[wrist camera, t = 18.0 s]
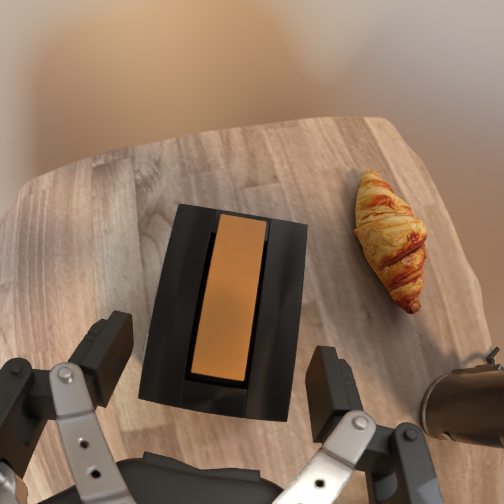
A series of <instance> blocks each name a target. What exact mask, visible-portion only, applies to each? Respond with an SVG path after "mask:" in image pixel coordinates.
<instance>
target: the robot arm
mask: <svg viewBox="0 0 504 504" xmlns="http://www.w3.org/2000/svg"><path fill="white" fill-rule="evenodd" d="M133 344H134V339H133V324H132V315H131V314H129V313H125V312H120V311H116V310H115V311H113V313H112V314H111V315H110V317H109V318H108V320H105V319H101V320H99V321H98V322H96V323H95V324H93V325H92V327H91V328H90V330H89V331H88V334H86V335H85V337H84V338H83V340H82V341H81V343H80V344H79V345H78V347H77V348H76V350H75V351H74V353H73V354H72V356H71V357H70V359H69V360H68V362H63V363H59V364H57V365H55V366H54V367H53V368H52V369H51V370H38V369H32V367H31V364H30V363H29V362H28V361H27V360H26V359H23V358H13V359H10V360H9V361H7V362H6V363H5V364H4V366H3V367H2V368H1V370H0V504H27V497H28V489H27V486H26V484H25V483H24V481H23V477H24V474H25V472H26V469H27V467H28V464H29V462H30V459H31V457H32V455H33V452H34V450H35V447H36V445H37V443H38V440H39V438H40V436H41V434H42V431H43V429H44V427H45V425H46V423H47V421H48V420H56V424H57V428H58V432H59V435H60V439H61V442H62V446H63V449H64V453H65V456H66V459H67V462H68V465H69V468H70V471H71V474H72V477H73V480H74V482H75V485H74V486H72V487H70V488H68V489H66V490H64V491H62V492H60V493H58V494H56V495H54V496H52V497H50V498H48V499H46V500H44V501H41V502H39V503H37V504H333V502H334V501H335V499H336V498H337V497H338V495H339V494H340V492H341V491H342V489H343V488H344V486H345V485H346V483H347V482H348V480H349V479H350V477H351V476H352V474H353V472H354V471H355V470H359V471H363V472H365V475H366V482H367V490H368V497H369V504H443V500H442V496H441V492H440V488H439V484H438V480H437V477H436V473H435V470H434V466H433V463H432V459H431V456H430V453H429V449H428V446H427V443H426V440H425V437H424V434H423V432H422V430H421V429H420V428H419V427H418V426H416V425H415V424H412V423H408V422H405V423H401V424H399V425H398V426H397V427H396V429H392V428H388V427H384V426H380V425H377V424H376V422H375V420H374V419H373V418H372V416H370V415H369V414H368V413H366V412H364V410H363V406H362V403H361V400H360V396H359V393H358V389H357V386H356V383H355V379H354V378H353V377H354V376H353V373H352V369H351V367H350V366H349V365H348V363H347V362H346V361H345V360H344V359H338V356H337V352H336V349H335V347H329V346H317V347H316V349H315V351H314V354H313V356H312V359H311V361H310V364H309V366H308V369H307V372H306V378H305V384H306V391H307V398H308V406H309V414H310V421H311V429H312V437H313V443H322V447H320V449H319V450H318V451H317V452H316V453H315V455H314V456H313V457H312V458H311V460H310V461H309V462H308V463H307V464H306V466H305V467H304V468H303V469H302V470H301V472H300V473H299V474H298V475H297V476H296V477H295V479H294V480H293V481H292V482H291V483H290V484H289V485H288V486H287V488H286V489H285V490H284V489H282V488H281V487H279V486H278V485H277V484H275V483H273V482H271V481H269V480H266V479H263V478H260V470H249V469H239V468H222V469H207V470H201V469H197V468H195V467H192V466H190V465H187V464H185V463H183V462H180V461H178V460H176V459H174V458H170V457H166V456H162V455H157V454H153V453H149V452H145V451H144V454H143V458H131V459H125V460H121V461H118V462H116V463H115V460H114V458H113V456H112V454H111V451H110V449H109V447H108V444H107V442H106V439H105V437H104V434H103V432H102V429H101V426H100V424H99V421H98V418H97V416H96V413H95V410H96V408H97V406H101V407H104V408H106V407H107V405H108V402H109V400H110V398H111V396H112V394H113V391H114V389H115V387H116V385H117V383H118V381H119V378H120V376H121V374H122V372H123V370H124V368H125V366H126V364H127V362H128V360H129V358H130V355H131V353H132V350H133ZM498 352H499V348H498V347H496V348H495V349H494V350H493V351H492V352H491V354H490V355H489V356H488V358H487V363H489V364H485V365H478V366H475V367H474V368H466V369H457V370H453V371H452V373H451V374H447V375H444V376H441V377H439V378H438V379H437V380H435V381H434V382H433V384H432V385H431V386H430V387H429V389H428V390H427V392H426V394H425V397H424V399H423V402H422V407H421V423H422V426H423V429H424V431H425V432H426V433H427V434H428V435H429V436H430V437H432V438H436V439H445V440H449V441H450V442H451V443H452V444H456V443H455V442H460V443H467V444H473V445H480V446H487V447H495V448H504V368H503V366H502V365H501V364H496V365H495V360H494V359H493V358H494V356H495V355H496V354H497V353H498ZM454 441H455V442H454ZM456 445H457V444H456Z"/></svg>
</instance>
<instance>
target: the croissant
mask: <svg viewBox="0 0 504 504" xmlns="http://www.w3.org/2000/svg"><path fill="white" fill-rule="evenodd" d="M355 214H356V227H357V228H356V229H354V233H355V234H356V236H357V238H358V240H359V242H360V243H361V245H362V246H363V252H364V255H365V257H366V259H367V261H368V263H369V265H370V266H371V268H372V269H373V271H374V272H375V273H376V274H377V275H378V277H379V279H380V280H381V282H382V283H383V284H384V286H385V288H386V289H387V290H388V292H389V294H390V296H391V298H392V299H393V301H395V302H396V303H397V304H398V305H399V306H400V307H402V308H403V309H404V310H405V311H406V312H407V313H409V314H414V313H416V312H418V311H419V310H420V308H421V305H420V302H419V296H418V295H419V294H420V292H421V290H422V284H423V276H422V275H423V264H424V260H425V258H427V254H426V250H425V244H424V241H425V240H426V237H427V230H426V226H425V224H424V223H422V222H421V221H420V220H419V219H418V218H415V217H414V215H413V213H412V210H411V208H410V207H408V205H407V204H406V203H405V202H404V201H403V200H401V199H400V198H398V197H397V196H396V195H395V194H394V193H393V191H392V189H391V187H390V186H389V184H387V183H386V182H385V181H384V180H382V179H380V178H379V176H378V175H377V174H376V173H375V172H374V171H373V170H367V171H366V172H365V173H364V174H363V176H362V178H361V183H360V188H359V190H358V193H357V199H356V207H355Z"/></svg>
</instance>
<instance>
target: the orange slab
mask: <svg viewBox="0 0 504 504" xmlns="http://www.w3.org/2000/svg"><path fill="white" fill-rule="evenodd" d="M265 231H266V222H265V221H259V220H254V219H248V218H242V217H236V216H230V215H224V214H221V216H220V220H219V225H218V230H217V235H216V240H215V244H214V249H213V254H212V259H211V264H210V269H209V275H208V280H207V285H206V290H205V295H204V301H203V306H202V312H201V317H200V323H199V328H198V334H197V340H196V345H195V351H194V357H193V363H192V369H191V372H192V373H197V374H202V375H208V376H214V377H220V378H226V379H232V380H239V381H244V377H245V370H246V363H247V357H248V350H249V343H250V336H251V329H252V323H253V316H254V309H255V302H256V295H257V288H258V281H259V274H260V267H261V260H262V252H263V245H264V238H265Z"/></svg>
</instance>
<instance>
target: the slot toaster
mask: <svg viewBox="0 0 504 504" xmlns="http://www.w3.org/2000/svg"><path fill="white" fill-rule="evenodd" d="M221 214H224V215H230V216H236V217H242V218H248V219H254V220H259V221H265V222H266V231H265V238H264V245H263V252H262V260H261V267H260V274H259V281H258V288H257V295H256V302H255V309H254V316H253V323H252V329H251V336H250V343H249V350H248V357H247V363H246V370H245V377H244V381H239V380H232V379H226V378H220V377H214V376H208V375H202V374H197V373H192V372H191V369H192V363H193V357H194V351H195V345H196V340H197V334H198V328H199V323H200V317H201V312H202V306H203V301H204V295H205V290H206V285H207V280H208V275H209V269H210V264H211V259H212V254H213V249H214V244H215V240H216V235H217V230H218V225H219V220H220V216H221ZM307 227H308V225H306V224H300V223H295V222H289V221H284V220H278V219H272V218H271V219H270V218H266V217H260V216H254V215H248V214H242V213H236V212H230V211H224V210H216V209H212V208H205V207H199V206H192V205H185V204H179V205H178V209H177V213H176V216H175V220H174V224H173V227H172V231H171V235H170V239H169V243H168V247H167V251H166V255H165V259H164V264H163V268H162V272H161V276H160V281H159V285H158V290H157V294H156V299H155V304H154V309H153V314H152V318H151V324H150V329H149V333H147V334H146V339H145V344H144V350H143V355H142V361H144V362H143V368H142V374H141V381H140V387H139V394H138V398H139V399H142V400H146V401H150V402H155V403H159V404H163V405H168V406H173V407H178V408H183V409H188V410H193V411H199V412H205V413H211V414H217V415H224V416H231V417H239V418H247V419H256V420H266V421H278V422H287V419H288V412H289V405H290V397H291V390H292V383H293V375H294V367H295V358H296V350H297V341H298V332H299V323H300V313H301V302H302V292H303V280H304V268H305V255H306V242H307Z"/></svg>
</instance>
